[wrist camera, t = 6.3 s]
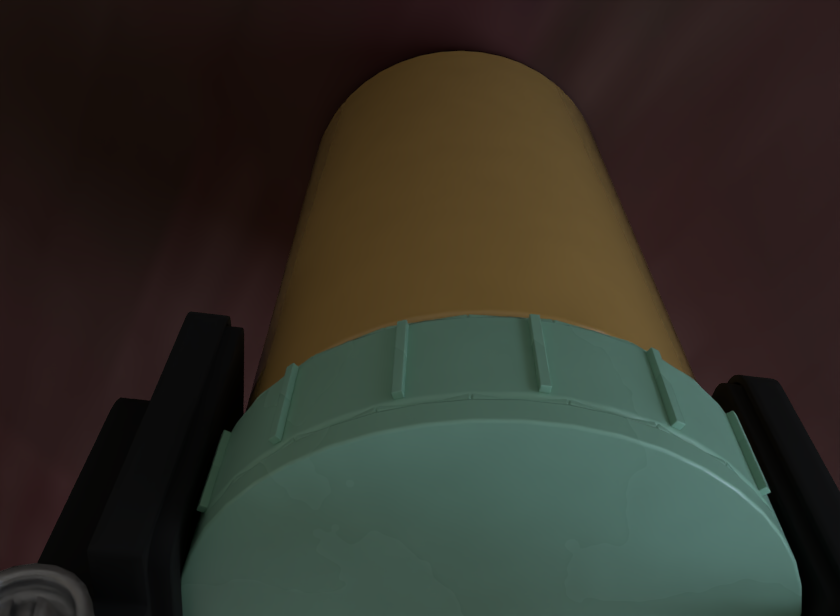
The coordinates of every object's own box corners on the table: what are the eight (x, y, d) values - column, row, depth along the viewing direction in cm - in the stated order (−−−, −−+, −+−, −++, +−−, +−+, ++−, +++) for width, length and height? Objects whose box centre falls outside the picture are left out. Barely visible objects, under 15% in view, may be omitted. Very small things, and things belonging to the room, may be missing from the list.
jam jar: (539, 331, 20) (620, 766, 11) (290, 274, 19) (178, 701, 10) (647, 96, 16) (888, 478, 8) (347, 11, 15) (246, 338, 7)
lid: (272, 231, 8) (235, 331, 6) (876, 407, 9) (954, 523, 7) (175, 618, 11) (141, 731, 10) (604, 706, 12) (622, 817, 11)
